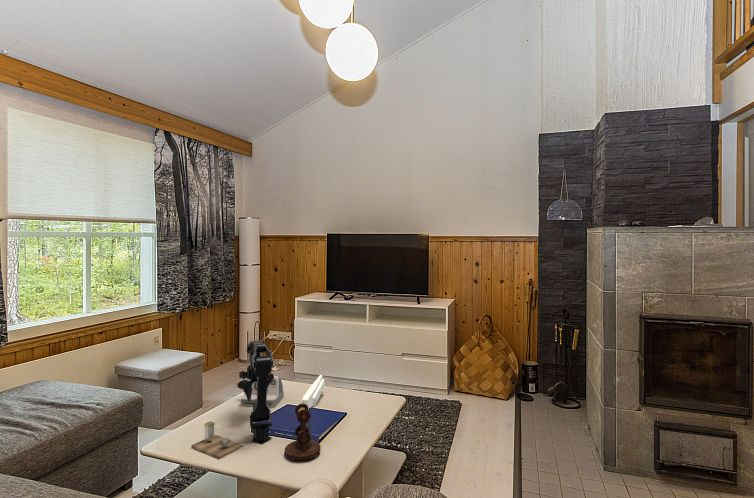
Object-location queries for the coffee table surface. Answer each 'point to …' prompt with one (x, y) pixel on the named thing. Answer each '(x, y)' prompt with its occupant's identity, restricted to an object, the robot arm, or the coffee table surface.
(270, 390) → the instant camera
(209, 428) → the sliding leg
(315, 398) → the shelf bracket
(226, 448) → the hole plate
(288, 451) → the brown wooden tall piece
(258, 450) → the coffee table surface
